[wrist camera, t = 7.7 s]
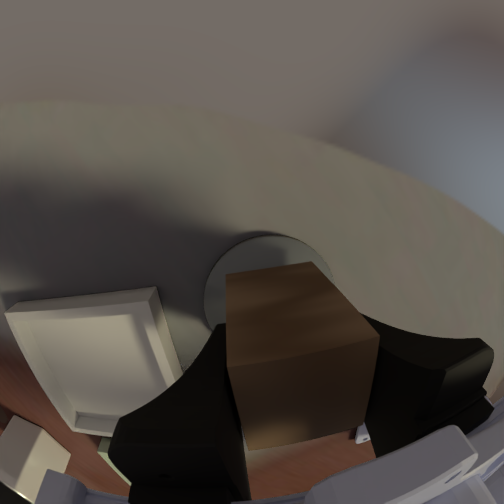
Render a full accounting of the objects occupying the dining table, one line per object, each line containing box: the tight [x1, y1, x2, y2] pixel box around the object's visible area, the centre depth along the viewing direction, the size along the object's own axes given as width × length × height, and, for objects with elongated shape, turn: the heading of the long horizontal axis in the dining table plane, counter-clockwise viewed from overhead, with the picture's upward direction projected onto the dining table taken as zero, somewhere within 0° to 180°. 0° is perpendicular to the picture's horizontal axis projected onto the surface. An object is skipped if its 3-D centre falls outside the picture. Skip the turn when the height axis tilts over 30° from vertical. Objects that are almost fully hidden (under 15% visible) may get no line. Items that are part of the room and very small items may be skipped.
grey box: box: [4, 286, 183, 437], centre depth 15 cm, size 11×11×2 cm
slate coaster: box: [204, 235, 334, 330], centre depth 15 cm, size 7×7×1 cm
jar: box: [0, 415, 71, 504], centre depth 12 cm, size 9×8×12 cm
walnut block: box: [226, 261, 380, 451], centre depth 10 cm, size 4×4×6 cm
